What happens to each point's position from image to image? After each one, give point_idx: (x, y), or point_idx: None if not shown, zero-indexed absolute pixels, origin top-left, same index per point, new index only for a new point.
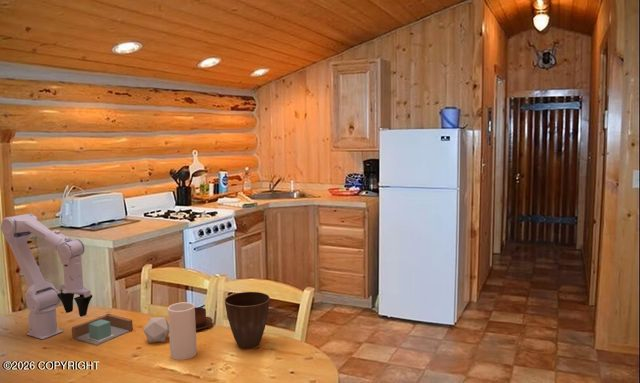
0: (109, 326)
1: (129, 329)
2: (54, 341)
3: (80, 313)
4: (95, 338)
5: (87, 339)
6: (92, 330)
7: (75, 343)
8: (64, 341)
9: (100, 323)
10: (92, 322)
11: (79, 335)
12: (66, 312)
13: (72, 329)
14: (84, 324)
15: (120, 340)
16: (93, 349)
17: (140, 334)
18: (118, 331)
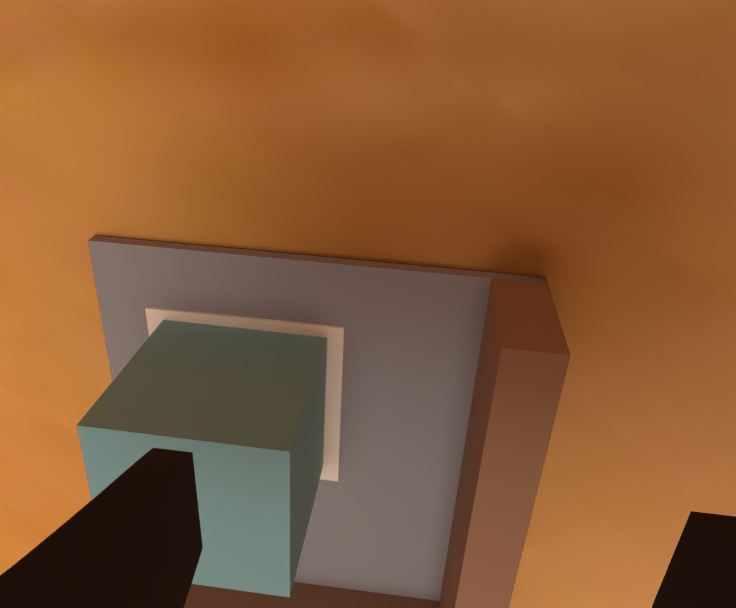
0: None
1: None
2: (719, 113)
3: (96, 498)
4: (214, 331)
5: (313, 299)
6: (234, 390)
7: (377, 182)
8: (572, 170)
9: None
10: (289, 501)
11: (484, 336)
12: (719, 521)
13: (550, 335)
14: (478, 477)
15: (29, 406)
16: (26, 145)
17: (18, 538)
18: None
